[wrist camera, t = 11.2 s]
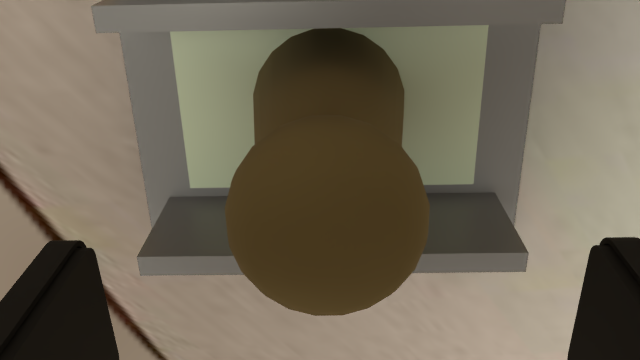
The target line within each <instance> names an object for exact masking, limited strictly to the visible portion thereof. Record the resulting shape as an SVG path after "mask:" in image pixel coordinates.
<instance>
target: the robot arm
mask: <svg viewBox="0 0 640 360" xmlns="http://www.w3.org/2000/svg"><path fill="white" fill-rule="evenodd" d="M0 360H119V353H118V349H117V345H116V341H115V336H114V332H113V327H112V323H111V319H110V314H109V310H108V306H107V301H106V297H105V293H104V289H103V284H102V280H101V276H100V271H99V267H98V263H97V258H96V254H95V252H94V250H93V249H92V248H86V245H85V244H84V242H82V241H49V242H48V243H47V244H46V245H45V246H44V248H43V249H42V250H41V251H40V253H39V254H38V255H37V256H36V258H35V259H34V260H33V262H32V263H31V264H30V265H29V266H28V268H27V269H26V270H25V272H24V273H23V274H22V275H21V276H20V278H19V279H18V280H17V281H16V283H15V284H14V285H13V286H12V288H11V289H10V290H9V292H8V293H7V294H6V295H5V297H4V298H3V299H2V300H1V301H0ZM568 360H640V239H639V238H635V237H622V238H604V239H603V240H602V241H601V243H600V245H595V246H593V247H592V248H591V250H590V254H589V258H588V263H587V268H586V272H585V277H584V282H583V286H582V291H581V296H580V300H579V305H578V310H577V315H576V319H575V324H574V329H573V333H572V338H571V343H570V347H569V352H568Z"/></svg>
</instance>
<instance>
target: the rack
mask: <svg viewBox="0 0 640 360" xmlns="http://www.w3.org/2000/svg"><path fill="white" fill-rule="evenodd" d="M565 2H566V0H103V1H101V2H99V3H97V4H94V5H92V6H91V8H92V13H93V19H94V24H95V29H96V33H120V39H121V45H122V51H123V57H124V63H125V69H126V75H127V81H128V87H129V93H130V99H131V105H132V111H133V117H134V123H135V129H136V135H137V141H138V147H139V153H140V160H141V166H142V172H143V178H144V184H145V190H146V196H147V202H148V208H149V214H150V220H151V226H152V230H151V232H150V234H149V236H148V238H147V239H146V241H145V243H144V245H143V247H142V249H141V250H140V252H139V254H138V256H137V260H138V266H139V271H140V276H145V275H244V274H243V273H242V272H241V270H240V268H239V266H238V264H237V262H236V260H235V258H234V255H233V253H232V251H231V249H230V247H229V242H228V235H227V226H226V217H225V205H226V201H227V197H228V193H229V189H230V185H231V181H232V179H233V176H234V174H235V171H236V169H237V168H238V167H239V165H240V164H241V162H242V161H243V159H244V158H245V156H246V155H247V153H248V152H249V151H250V149H251V148H252V146H254V145H255V142H254V108H253V93H254V89H255V85H256V81H257V77H258V73H259V71H260V69H261V68H262V66H263V65H264V63H265V61H266V60H267V58H268V57H269V55H270V54H271V52H272V51H273V50H275V49H276V48H277V47H279V46H280V45H281V44H282V43H284V42H285V41H286V40H287V39H289V38H290V37H292V36H294V35H297V34H300V33H303V32H305V31H308V30H311V29H320V28H342V29H346V30H349V31H352V32H356V33H359V34H362V35H364V36H366V37H367V38H369V39H370V40H372V41H373V42H374V43H376V44H377V45H379V46H380V47H381V48H383V49H384V50H385V52H386V53H387V54H388V56H389V57H390V59H391V60H392V61H393V63H394V64H395V65H396V67H397V68H398V71H399V74H400V78H401V81H402V84H403V88H404V118H403V135H402V148H403V149H404V150H405V152H406V153H407V154H408V156H409V157H410V158H411V160H412V161H413V162H414V163H415V165H416V166H417V167H418V170H419V173H420V176H421V179H422V182H423V185H424V188H425V191H426V195H427V198H428V201H429V204H430V210H429V228H428V237H427V242H426V246H425V248H424V250H423V252H422V255H421V257H420V259H419V262H418V264H417V266H416V269H415V270H414V271H413V272H412V273H446V272H526V267H527V260H528V251H527V249H526V247H525V246H524V244H523V242H522V240H521V238H520V237H519V235H518V233H517V231H516V229H515V228H514V222H515V215H516V207H517V200H518V192H519V185H520V177H521V170H522V162H523V154H524V147H525V139H526V132H527V124H528V117H529V109H530V102H531V94H532V87H533V79H534V71H535V64H536V56H537V49H538V41H539V34H540V26H541V24H562V23H563V16H564V9H565Z"/></svg>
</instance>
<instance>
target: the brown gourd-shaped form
mask: <svg viewBox="0 0 640 360" xmlns="http://www.w3.org/2000/svg"><path fill="white" fill-rule="evenodd" d="M253 108H254V142H255V145H254V146H252V148H251V149H250V151H249V152H248V153H247V155H246V156H245V158H244V159H243V161H242V162H241V164H240V165H239V167H238V168H237V169H236V171H235V174H234V176H233V179H232V181H231V185H230V189H229V193H228V197H227V201H226V205H225V217H226V226H227V235H228V242H229V247H230V249H231V251H232V253H233V255H234V258H235V260H236V262H237V264H238V266H239V268H240V270H241V272H242V273H243V274H244V275H245V276H246V277H247V278H248V279H249V280H250V281H251V282H252V283H253V284H254V285H255V286H256V287H257V288H258V289H259V290H260V291H261V292H262V293H263V294H264V295H265V296H267V297H269V298H270V299H272V300H274V301H276V302H277V303H279V304H281V305H283V306H285V307H286V308H288V309H291V310H295V311H299V312H303V313H307V314H311V315H315V316H317V315H345V314H349V313H352V312H356V311H359V310H363V309H367V308H369V307H371V306H372V305H374V304H376V303H378V302H379V301H381V300H383V299H384V298H386V297H388V296H389V295H391V294H392V293H393V292H394V291H396V290H397V289H398V288H399V287H400V285H401V284H402V283H403V282H404V281H405V280H406V279H407V278H408V277H409V276H410V274H411V273H412V272H413V271H414V270H415V269H416V266H417V264H418V262H419V259H420V257H421V255H422V252H423V250H424V248H425V246H426V242H427V237H428V228H429V210H430V204H429V201H428V198H427V195H426V191H425V188H424V185H423V182H422V179H421V176H420V173H419V170H418V167H417V166H416V165H415V163H414V162H413V161H412V160H411V158H410V157H409V156H408V154H407V153H406V152H405V150H404V149H403V148H402V135H403V118H404V88H403V84H402V81H401V78H400V74H399V71H398V68H397V67H396V65H395V64H394V63H393V61H392V60H391V59H390V57H389V56H388V54H387V53H386V52H385V50H384V49H383V48H381V47H380V46H379V45H377V44H376V43H374V42H373V41H372V40H370V39H369V38H367V37H366V36H364V35H362V34H359V33H356V32H352V31H349V30H346V29H342V28H320V29H311V30H308V31H305V32H303V33H300V34H297V35H294V36H292V37H290V38H289V39H287V40H286V41H285V42H284V43H282V44H281V45H280V46H279V47H277V48H276V49H275V50H273V51H272V52H271V54H270V55H269V57H268V58H267V60H266V61H265V63H264V65H263V66H262V68H261V69H260V71H259V73H258V77H257V81H256V85H255V89H254V93H253Z"/></svg>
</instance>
